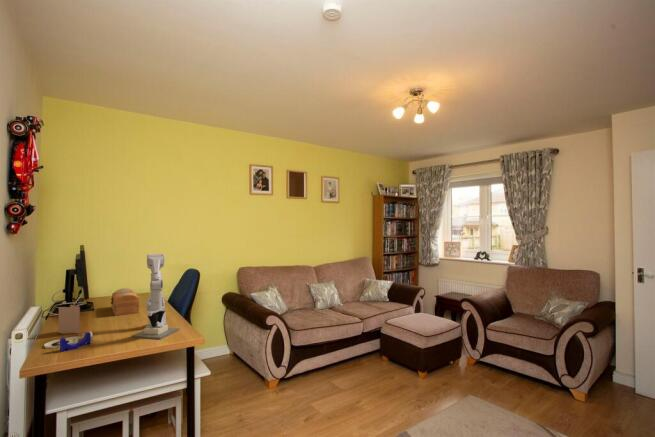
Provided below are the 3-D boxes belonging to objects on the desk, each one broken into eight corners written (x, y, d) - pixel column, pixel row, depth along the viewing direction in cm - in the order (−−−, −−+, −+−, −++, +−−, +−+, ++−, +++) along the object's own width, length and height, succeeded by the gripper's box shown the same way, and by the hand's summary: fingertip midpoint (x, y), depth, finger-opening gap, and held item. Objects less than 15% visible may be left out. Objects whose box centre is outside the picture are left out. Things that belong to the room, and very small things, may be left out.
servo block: (149, 330, 190) (149, 321, 190) (165, 331, 190) (165, 321, 190) (146, 332, 187) (146, 322, 187) (162, 332, 187) (162, 322, 187)
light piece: (92, 336, 176) (43, 345, 164) (92, 341, 176) (43, 351, 164) (91, 330, 185) (44, 338, 173) (91, 336, 185) (44, 344, 173)
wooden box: (110, 307, 249) (110, 289, 249) (135, 304, 258) (135, 286, 258) (111, 316, 224) (111, 296, 224) (139, 313, 234) (139, 293, 234)
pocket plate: (152, 328, 198) (152, 321, 198) (179, 330, 194) (179, 323, 194) (131, 337, 182) (131, 330, 182) (160, 339, 179) (160, 331, 179)
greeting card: (81, 332, 191) (81, 306, 191) (65, 336, 184) (66, 309, 185) (72, 329, 197) (72, 304, 197) (56, 332, 190) (57, 306, 190)
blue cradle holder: (62, 352, 161) (62, 340, 161) (59, 350, 164) (59, 338, 164) (91, 345, 171) (91, 333, 171) (88, 343, 174) (88, 331, 174)
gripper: (156, 298, 196) (156, 321, 196) (142, 304, 181) (141, 329, 181) (168, 298, 196) (167, 321, 195) (154, 304, 181) (154, 329, 181)
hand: (156, 325), depth 188 cm, fingers open, 4 cm apart
